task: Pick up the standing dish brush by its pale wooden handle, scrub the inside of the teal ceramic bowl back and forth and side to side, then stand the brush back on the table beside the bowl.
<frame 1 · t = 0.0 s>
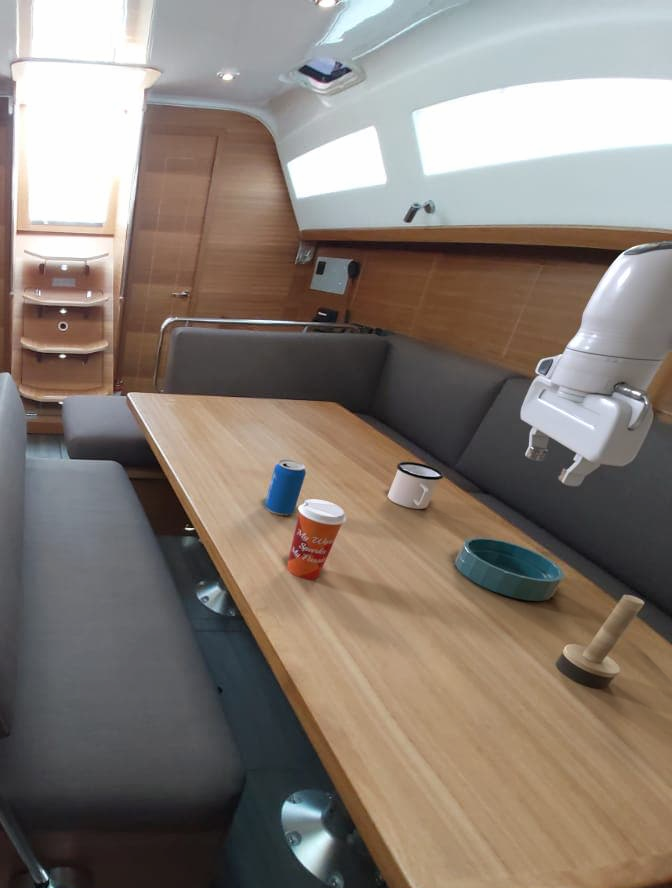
hand: (549, 470, 71), 29 cm above the table, tool pointing down, fingers open, 8 cm apart
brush: (581, 674, 75), on the table
beverage can: (278, 511, 119), on the table
bowl: (500, 579, 96), on the table
mug: (408, 504, 124), on the table
paper cup: (302, 571, 97), on the table
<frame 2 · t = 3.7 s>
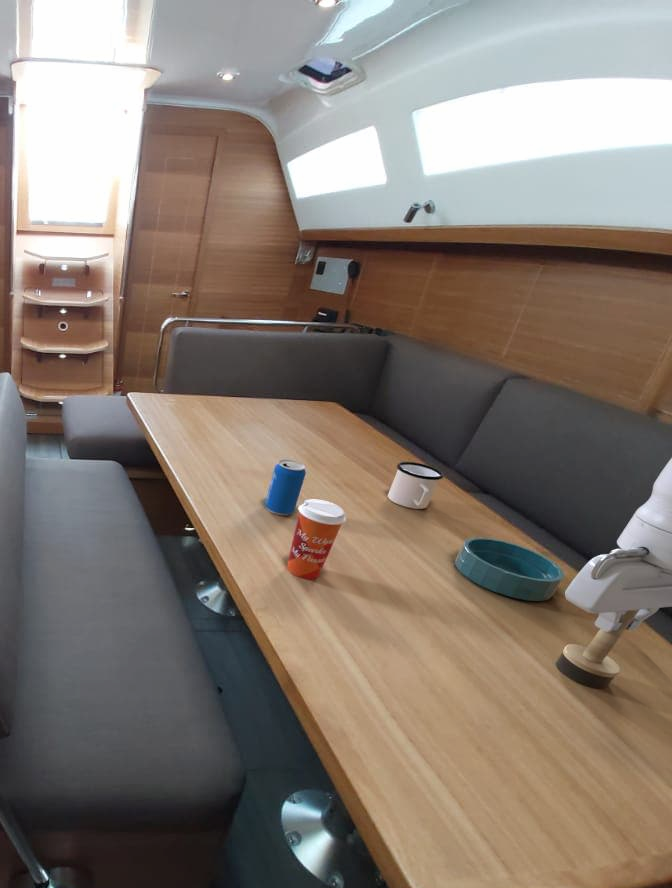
hand: (614, 627, 71), 9 cm above the table, tool pointing down, fingers closed on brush
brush: (581, 673, 75), on the table, touching gripper
everything else where it was.
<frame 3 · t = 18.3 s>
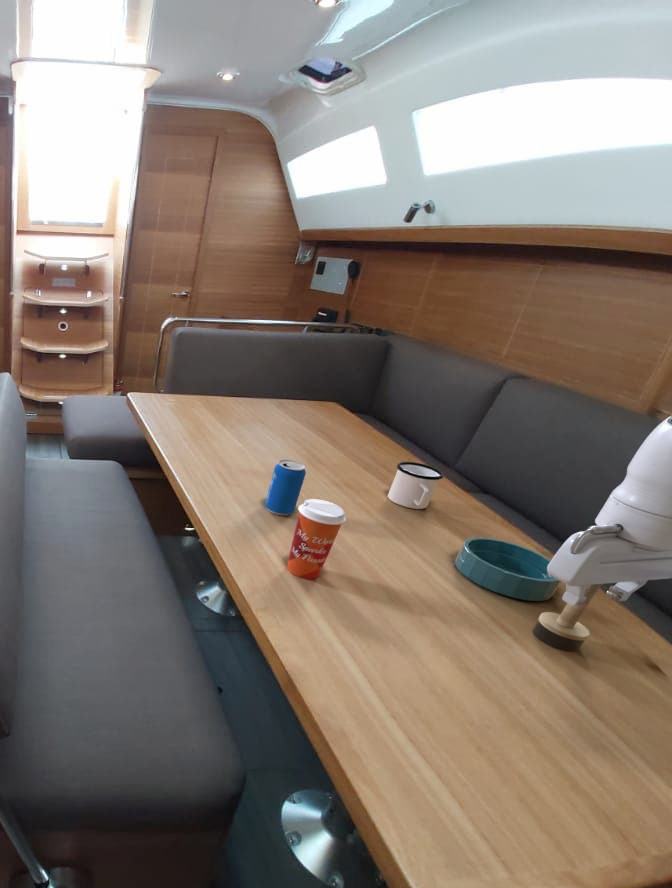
hand: (593, 600, 77), 9 cm above the table, tool pointing down, fingers open, 7 cm apart
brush: (555, 639, 82), on the table
everything else where it was.
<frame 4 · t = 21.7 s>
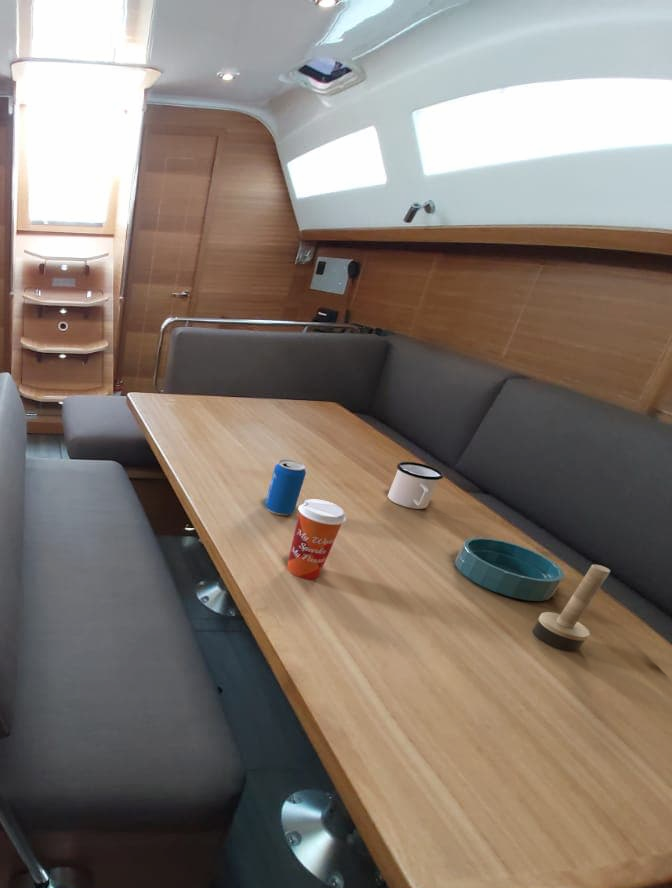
nothing on the table moved.
at the end: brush inside the target area on the table beside the bowl (1.3 cm from its centre), on the table; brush tilted 0°; the gripper is holding nothing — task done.
